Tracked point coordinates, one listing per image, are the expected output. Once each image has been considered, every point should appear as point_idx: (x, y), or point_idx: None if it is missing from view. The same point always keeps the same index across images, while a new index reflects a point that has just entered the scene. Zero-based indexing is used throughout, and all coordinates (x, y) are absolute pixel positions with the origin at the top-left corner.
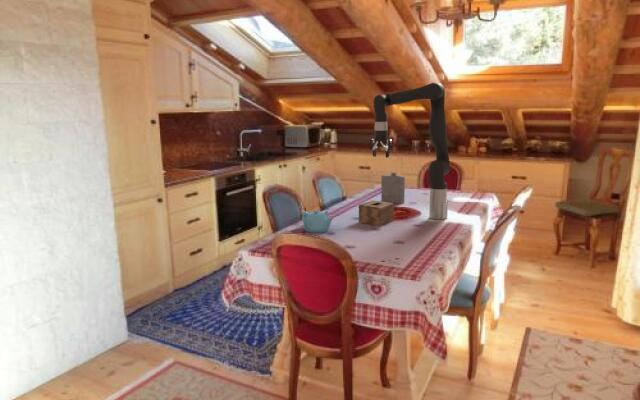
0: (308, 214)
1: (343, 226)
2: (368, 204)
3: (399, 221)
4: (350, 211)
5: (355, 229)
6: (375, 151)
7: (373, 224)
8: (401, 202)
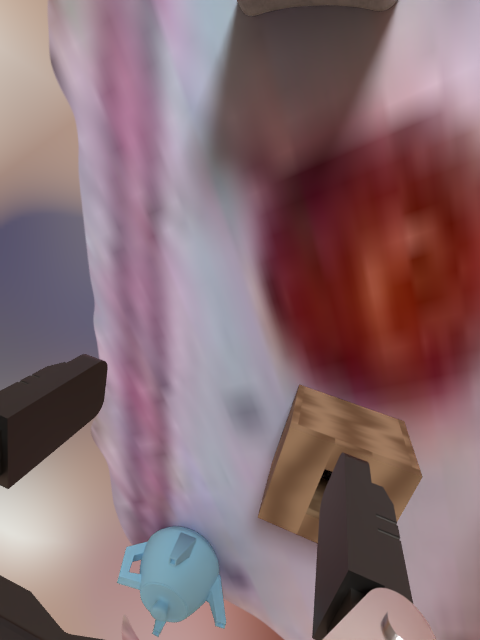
0: (146, 607)
1: (242, 513)
2: (297, 510)
3: (433, 427)
4: (180, 312)
5: (290, 540)
6: (28, 431)
7: None
8: (384, 6)
